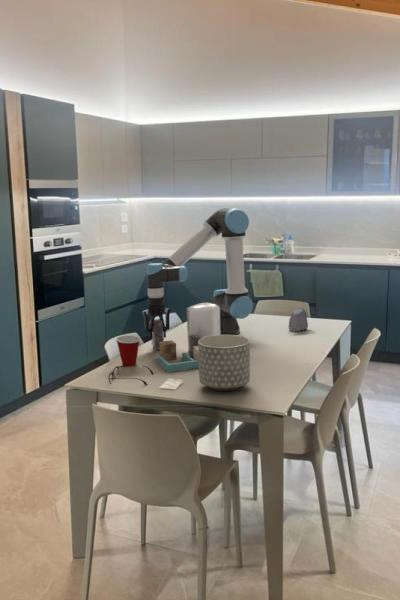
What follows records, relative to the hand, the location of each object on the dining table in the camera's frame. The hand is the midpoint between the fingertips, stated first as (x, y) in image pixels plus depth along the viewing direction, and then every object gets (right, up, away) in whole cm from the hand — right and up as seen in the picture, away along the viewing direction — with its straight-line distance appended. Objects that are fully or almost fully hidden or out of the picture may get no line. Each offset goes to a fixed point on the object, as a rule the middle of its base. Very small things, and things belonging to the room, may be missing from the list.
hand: (157, 344), depth 271 cm
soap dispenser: (+24, -2, -2) cm, 24 cm away
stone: (+71, +5, +31) cm, 78 cm away
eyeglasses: (-7, -11, -43) cm, 45 cm away
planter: (+29, -12, -57) cm, 65 cm away
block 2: (+20, -5, -20) cm, 29 cm away
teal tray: (+15, -6, -24) cm, 29 cm away
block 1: (+3, -3, -8) cm, 9 cm away
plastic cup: (-11, -7, -24) cm, 27 cm away
